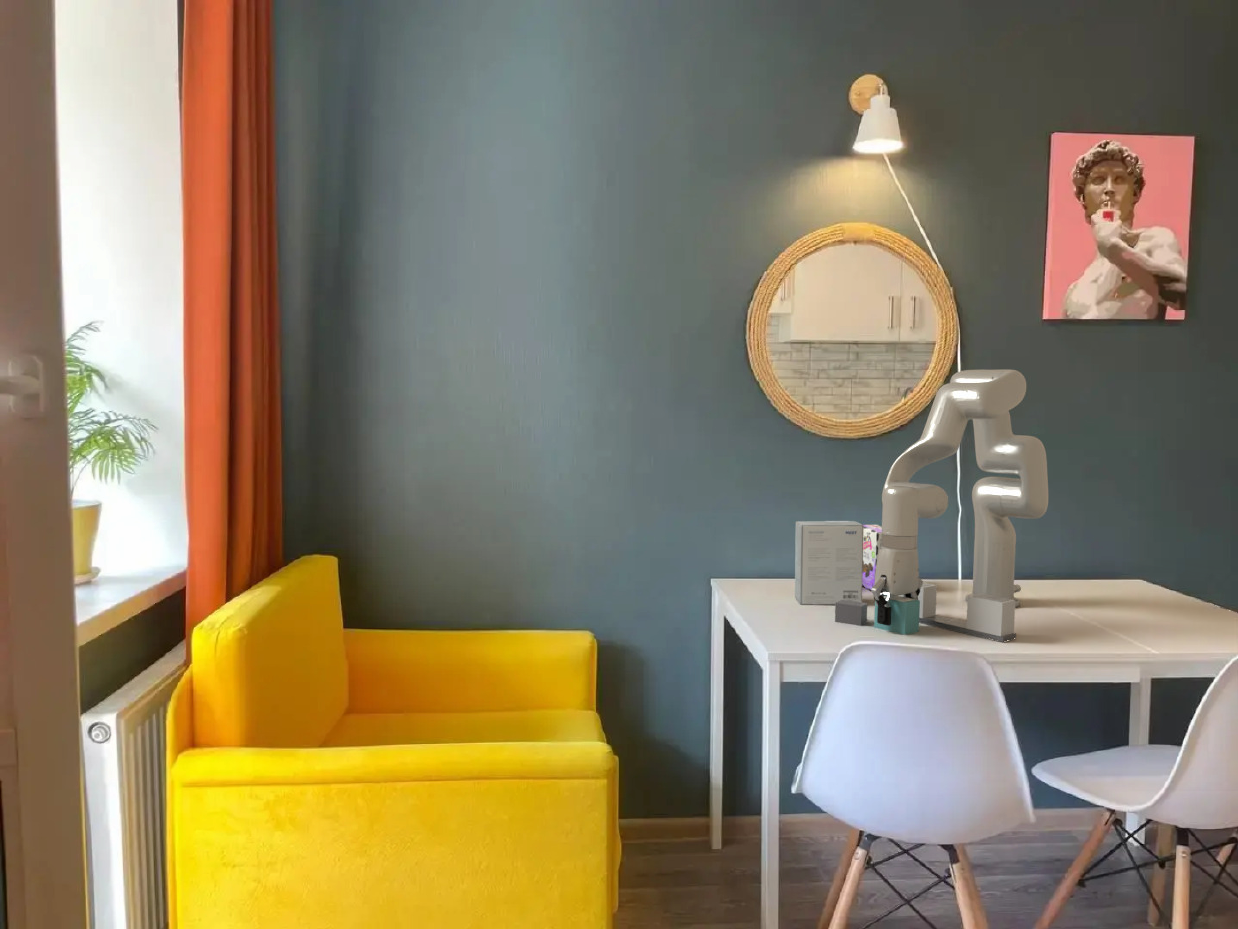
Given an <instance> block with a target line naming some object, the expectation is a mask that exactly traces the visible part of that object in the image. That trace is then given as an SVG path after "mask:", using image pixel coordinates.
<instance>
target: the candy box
mask: <svg viewBox="0 0 1238 929" xmlns="http://www.w3.org/2000/svg"><path fill="white" fill-rule="evenodd" d="M862 525H863V526H864V529H863V574H862V587H863V586H864V587H865V589H866V590H868V589H869V590H868V591H870V590H871V589H872V587H873V586H874V585H875V572H876V564H877V558H878V554H879V550H880V549H882V548H881V539H882V525H881V526H880V525H879V524H862ZM864 587H863V588H864ZM888 593H889V592H888Z"/></svg>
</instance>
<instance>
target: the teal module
mask: <svg viewBox="0 0 1238 929" xmlns="http://www.w3.org/2000/svg"><path fill="white" fill-rule="evenodd" d="M884 598H885V600H886V599H887V596H884ZM889 607H891V625H889V626H887V625H883V624H879V623H878V622H877V612H878V605H876V601H875V600H874V615H873V616H874V619H873V620H874V622H873V628H875V629H880V630H884V631H887V632H891V633H895V634H900V635H903V636H907V635H910V634H915V633H919V630H920V623H919V613H920V600H916V599H911V598H906V597H902V596H893V599H892V601H891V604H890V606H889Z"/></svg>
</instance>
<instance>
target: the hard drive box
mask: <svg viewBox="0 0 1238 929" xmlns="http://www.w3.org/2000/svg"><path fill="white" fill-rule="evenodd" d="M863 525H864V524H862V523H861V522H858V521H856V520H824V521H823V520H821V521H820V520H815V521H814V520H813V521H812V520H809V521H807V520H806V521H804V520H803V521H801V520H799V521H795V538H794V540H795V542H794V543H795V545H794V546H795V551H794V552H795V553H794V554H795V555H794V556H795V559H794V561H795V562H794V563H795V564H794V566H795V567H794V571H795V572H794V599H795V598H796V599H795V600H796V601H797V602H798V603H799V605H811V604H812V606H813V605H815V606H818V605H835V604H836V602H838V601H840V600H847V601H854V602H862V603H863V586H862V574H863V529H864V526H863Z"/></svg>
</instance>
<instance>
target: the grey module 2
mask: <svg viewBox="0 0 1238 929" xmlns="http://www.w3.org/2000/svg"><path fill="white" fill-rule="evenodd" d="M966 602H967V601H966ZM966 605H967V606H966V608H967V609H966V622H967V626H966V628H967V629H971V630H976V631H980V632H984V633H989V634H993V635H997V636H1004V635H1008V634H1012V633H1015V619H1016V618H1015V617H1016V616H1015V615H1016V607H1015V600H1011V599H1005V598H1000V597H995V596H990V595H985V594H977V595H972V596H968V602H967V604H966Z"/></svg>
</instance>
